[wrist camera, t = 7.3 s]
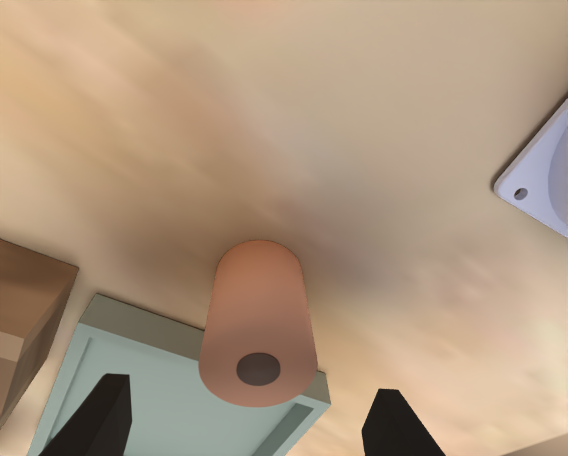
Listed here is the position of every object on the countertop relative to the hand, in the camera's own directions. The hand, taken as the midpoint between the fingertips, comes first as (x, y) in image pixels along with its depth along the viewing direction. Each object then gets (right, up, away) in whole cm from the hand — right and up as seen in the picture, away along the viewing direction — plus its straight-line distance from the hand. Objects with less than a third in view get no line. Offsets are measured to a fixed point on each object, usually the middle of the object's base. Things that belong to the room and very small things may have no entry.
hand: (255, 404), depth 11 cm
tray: (-5, -4, +9) cm, 11 cm away
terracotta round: (0, +3, +5) cm, 6 cm away
